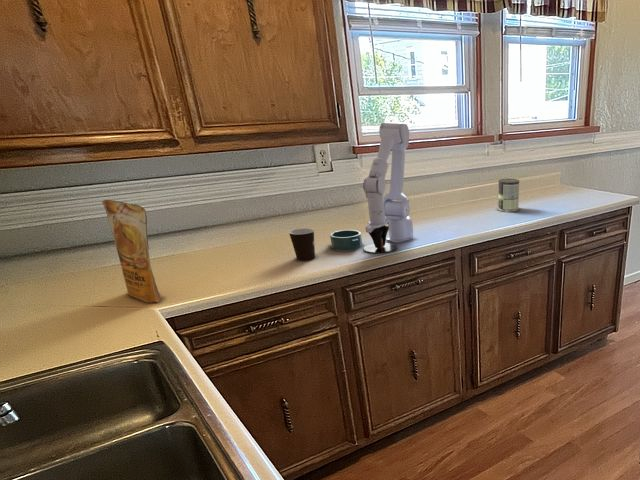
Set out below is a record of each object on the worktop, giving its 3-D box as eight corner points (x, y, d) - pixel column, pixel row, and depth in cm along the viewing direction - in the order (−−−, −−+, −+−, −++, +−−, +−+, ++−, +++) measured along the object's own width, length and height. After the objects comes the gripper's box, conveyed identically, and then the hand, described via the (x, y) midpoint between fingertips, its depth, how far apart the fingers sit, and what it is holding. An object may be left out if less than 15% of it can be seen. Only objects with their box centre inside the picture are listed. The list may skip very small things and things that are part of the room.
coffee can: (494, 210, 259) (494, 180, 253) (505, 206, 267) (505, 177, 260) (511, 212, 254) (512, 182, 247) (522, 208, 262) (523, 179, 255)
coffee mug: (311, 262, 187) (306, 235, 182) (289, 261, 188) (284, 233, 183) (325, 253, 197) (321, 226, 192) (305, 251, 198) (300, 225, 193)
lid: (386, 243, 207) (385, 232, 205) (403, 250, 199) (402, 239, 197) (358, 249, 200) (356, 238, 198) (374, 257, 192) (372, 245, 190)
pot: (350, 240, 212) (348, 227, 210) (371, 249, 201) (369, 235, 198) (324, 245, 206) (322, 231, 203) (343, 255, 194) (341, 241, 192)
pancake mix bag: (143, 287, 165) (113, 197, 152) (175, 299, 156) (146, 204, 143) (120, 293, 160) (87, 201, 147) (152, 306, 151) (120, 209, 138)
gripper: (377, 206, 200) (380, 240, 206) (356, 214, 188) (361, 250, 194) (393, 207, 197) (396, 242, 204) (373, 215, 185) (377, 252, 192)
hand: (380, 246), depth 199 cm, fingers closed on lid, 2 cm apart
